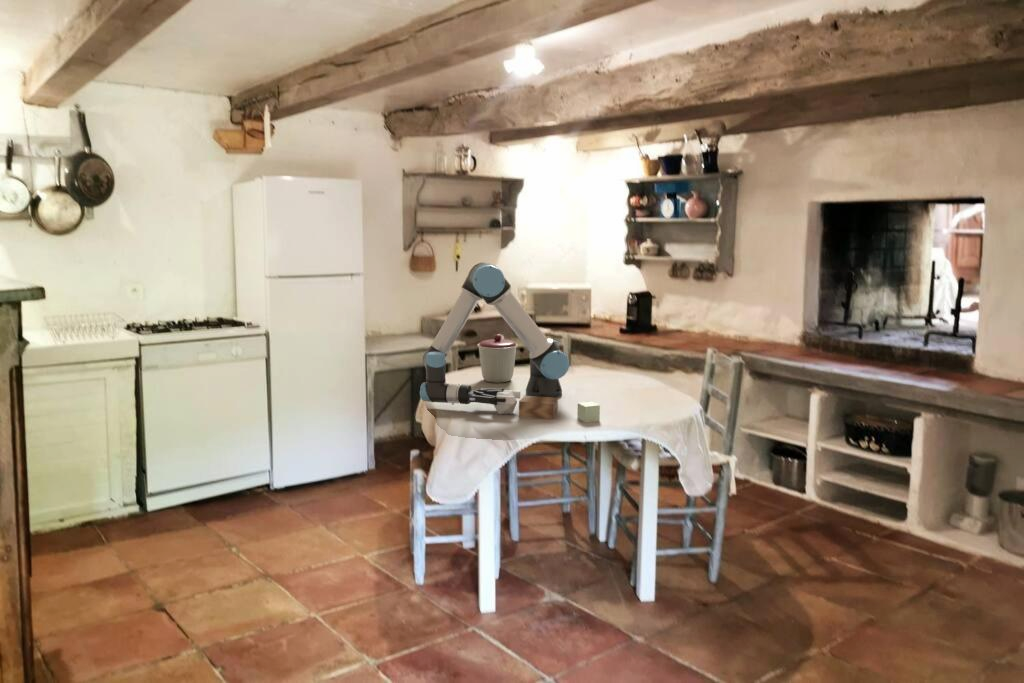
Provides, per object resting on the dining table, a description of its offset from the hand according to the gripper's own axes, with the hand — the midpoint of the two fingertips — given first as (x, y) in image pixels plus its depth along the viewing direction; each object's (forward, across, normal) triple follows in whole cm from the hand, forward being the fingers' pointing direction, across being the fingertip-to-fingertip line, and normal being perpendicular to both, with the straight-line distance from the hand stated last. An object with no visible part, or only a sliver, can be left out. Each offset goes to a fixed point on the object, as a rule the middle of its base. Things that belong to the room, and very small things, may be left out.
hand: (517, 397), depth 301 cm
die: (-5, 0, -6) cm, 8 cm away
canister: (-22, -53, -6) cm, 58 cm away
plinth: (+8, 0, -6) cm, 10 cm away
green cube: (+27, +2, -6) cm, 28 cm away
